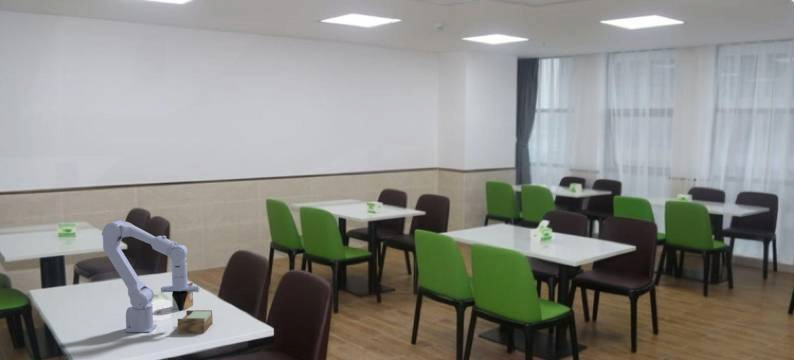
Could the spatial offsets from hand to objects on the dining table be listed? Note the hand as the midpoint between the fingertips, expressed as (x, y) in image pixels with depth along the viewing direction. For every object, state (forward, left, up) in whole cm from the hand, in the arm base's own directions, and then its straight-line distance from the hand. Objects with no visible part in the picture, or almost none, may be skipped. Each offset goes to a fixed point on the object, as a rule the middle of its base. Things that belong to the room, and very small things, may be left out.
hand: (181, 310), depth 258 cm
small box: (-9, +29, -8) cm, 31 cm away
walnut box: (+5, 0, -7) cm, 9 cm away
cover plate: (+7, 0, -3) cm, 8 cm away
